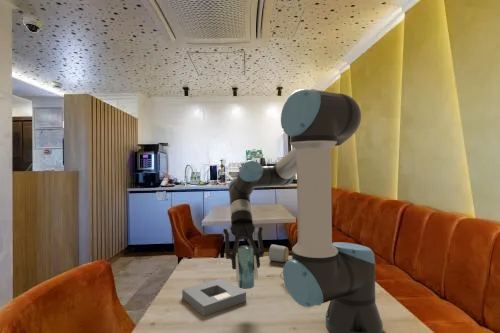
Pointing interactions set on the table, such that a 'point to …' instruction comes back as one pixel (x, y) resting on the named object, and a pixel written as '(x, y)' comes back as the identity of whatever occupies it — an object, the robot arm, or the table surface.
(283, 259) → the ceramic mug
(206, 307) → the socket block
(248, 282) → the teal cylinder
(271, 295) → the table surface
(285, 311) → the table surface
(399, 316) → the table surface
